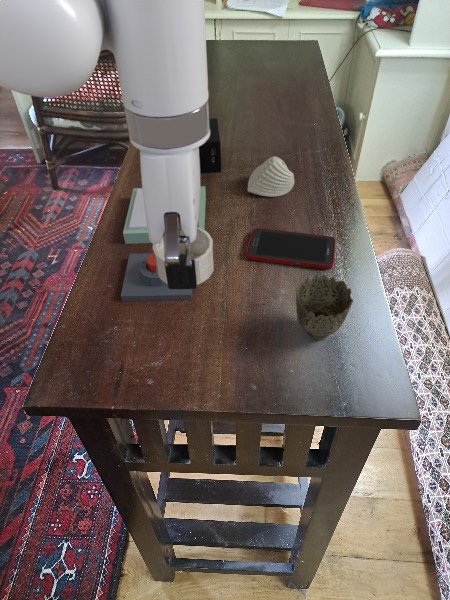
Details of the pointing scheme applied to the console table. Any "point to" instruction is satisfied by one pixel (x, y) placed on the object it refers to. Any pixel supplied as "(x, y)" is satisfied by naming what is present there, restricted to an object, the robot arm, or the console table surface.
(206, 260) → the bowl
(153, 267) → the button
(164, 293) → the pad
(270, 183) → the seashell
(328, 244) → the cell phone
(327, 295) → the cup
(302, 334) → the console table surface
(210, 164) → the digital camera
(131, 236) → the scale
